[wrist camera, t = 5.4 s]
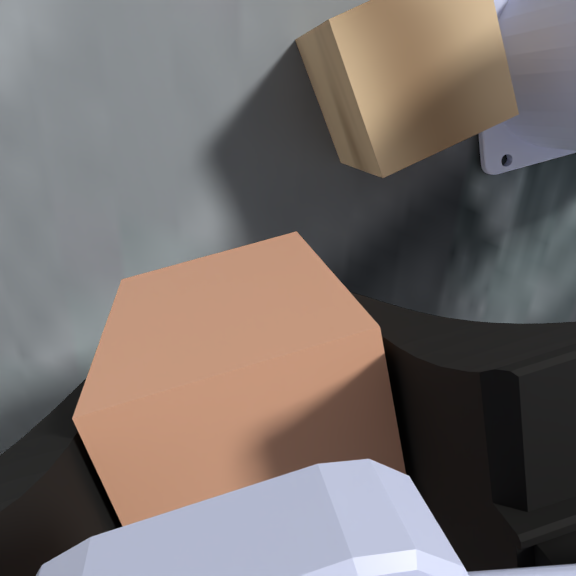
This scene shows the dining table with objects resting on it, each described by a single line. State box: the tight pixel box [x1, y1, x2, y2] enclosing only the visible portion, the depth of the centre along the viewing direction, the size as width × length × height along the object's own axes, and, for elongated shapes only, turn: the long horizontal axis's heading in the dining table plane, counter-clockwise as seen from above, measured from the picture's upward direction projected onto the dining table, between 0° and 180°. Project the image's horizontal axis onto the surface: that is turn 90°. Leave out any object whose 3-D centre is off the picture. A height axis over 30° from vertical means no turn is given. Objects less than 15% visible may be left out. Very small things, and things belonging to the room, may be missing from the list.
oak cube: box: [295, 0, 519, 178], centre depth 18 cm, size 5×5×5 cm
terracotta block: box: [72, 231, 406, 526], centre depth 11 cm, size 4×4×6 cm
